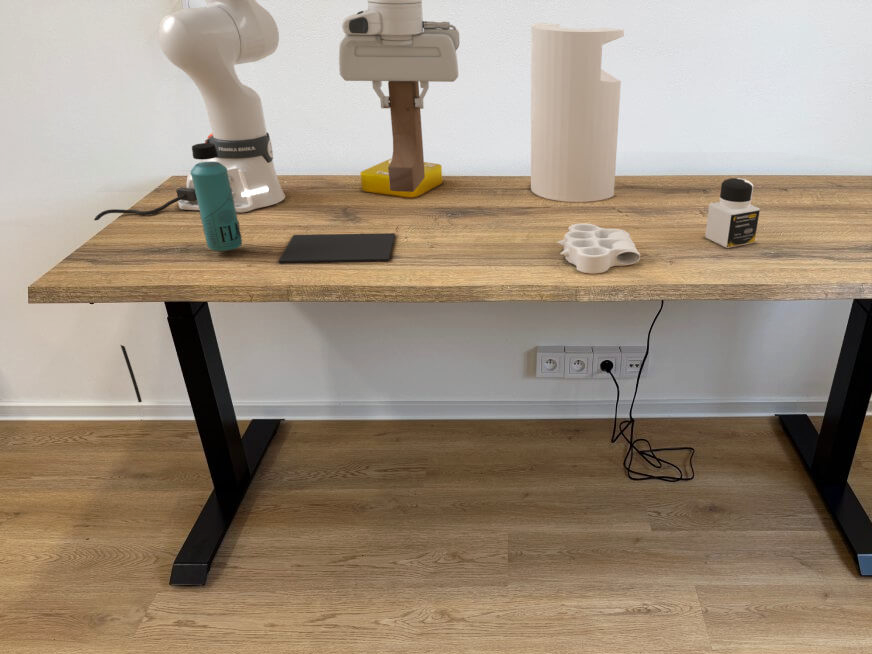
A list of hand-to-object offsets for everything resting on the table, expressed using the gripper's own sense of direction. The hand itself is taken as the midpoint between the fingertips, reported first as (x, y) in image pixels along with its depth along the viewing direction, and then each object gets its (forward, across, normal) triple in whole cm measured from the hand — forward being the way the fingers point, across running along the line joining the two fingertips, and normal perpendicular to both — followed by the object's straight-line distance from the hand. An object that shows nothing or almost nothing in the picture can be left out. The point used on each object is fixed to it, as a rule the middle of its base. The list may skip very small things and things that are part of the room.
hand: (402, 108), depth 136 cm
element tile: (+26, +5, -41) cm, 49 cm away
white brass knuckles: (+26, -35, +6) cm, 44 cm away
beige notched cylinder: (+26, -33, -34) cm, 54 cm away
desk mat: (+26, +14, 0) cm, 29 cm away
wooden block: (+14, 0, 0) cm, 14 cm away
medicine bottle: (+25, -63, 0) cm, 68 cm away
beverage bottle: (+26, +35, +1) cm, 44 cm away
